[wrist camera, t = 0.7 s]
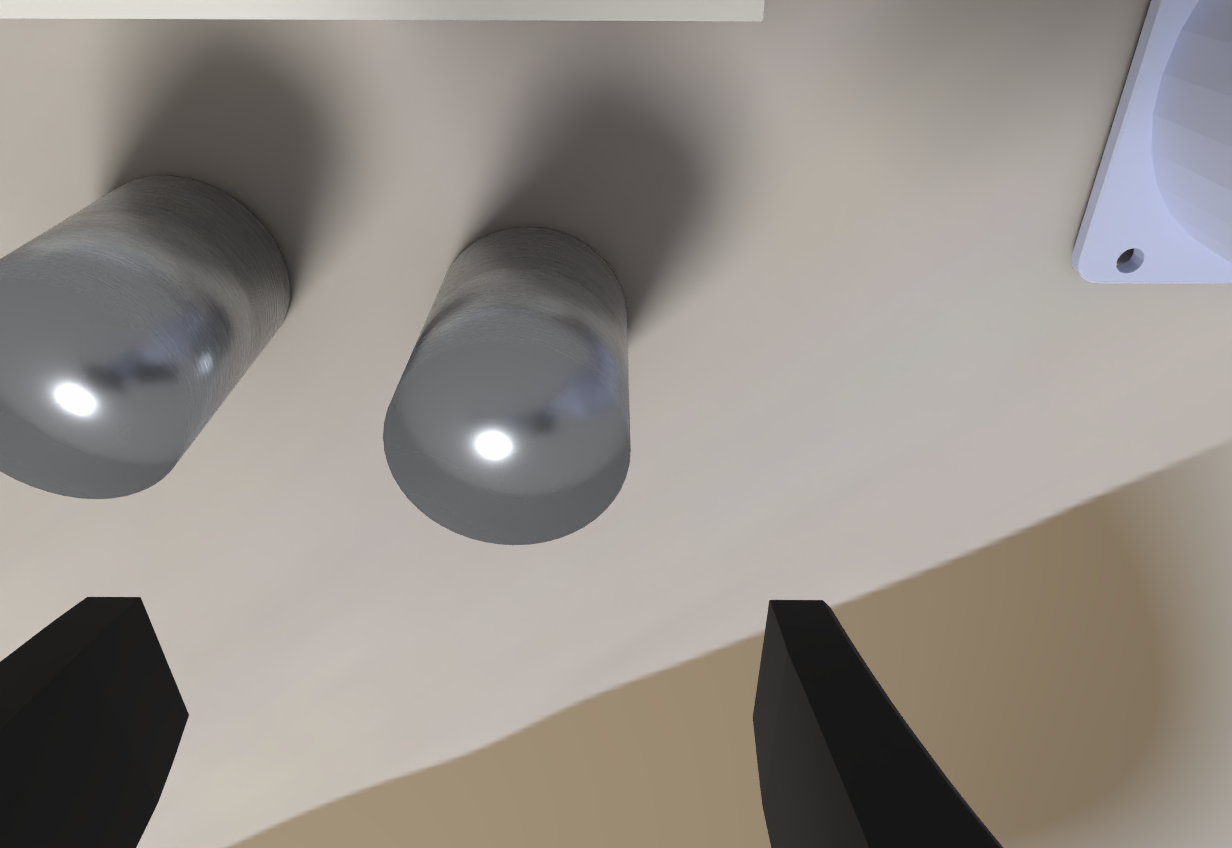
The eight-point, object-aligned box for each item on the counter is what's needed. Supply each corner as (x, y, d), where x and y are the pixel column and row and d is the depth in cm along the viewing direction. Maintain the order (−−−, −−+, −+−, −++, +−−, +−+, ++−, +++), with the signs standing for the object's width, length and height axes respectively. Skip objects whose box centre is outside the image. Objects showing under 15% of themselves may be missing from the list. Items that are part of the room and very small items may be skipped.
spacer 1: (266, 175, 16) (144, 277, 12) (306, 359, 18) (214, 499, 14) (58, 175, 16) (-136, 277, 12) (123, 358, 18) (-22, 498, 14)
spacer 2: (627, 227, 17) (632, 341, 13) (626, 399, 19) (629, 545, 15) (427, 226, 17) (364, 340, 13) (448, 398, 19) (401, 544, 15)
